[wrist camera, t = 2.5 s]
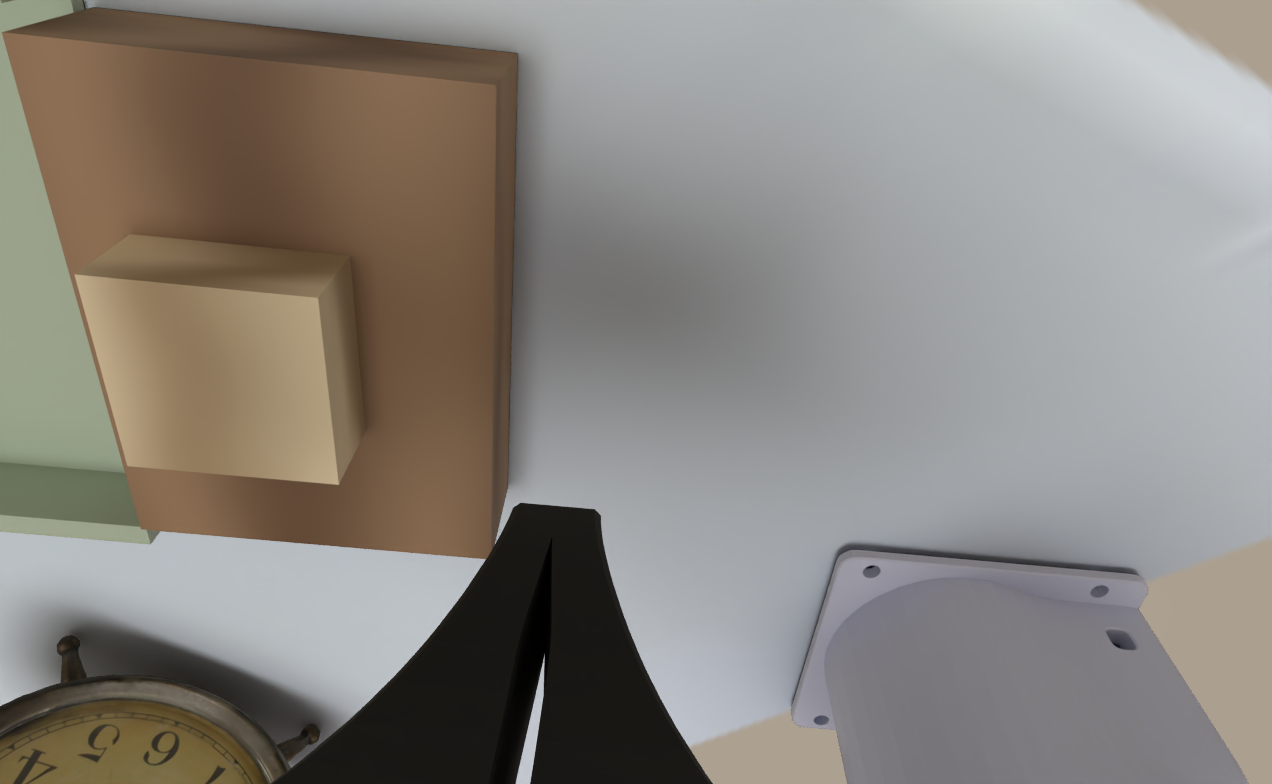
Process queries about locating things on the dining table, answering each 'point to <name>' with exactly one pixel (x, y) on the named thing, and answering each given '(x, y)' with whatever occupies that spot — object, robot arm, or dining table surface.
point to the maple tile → (228, 357)
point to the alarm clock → (134, 733)
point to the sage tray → (48, 351)
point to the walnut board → (308, 240)
